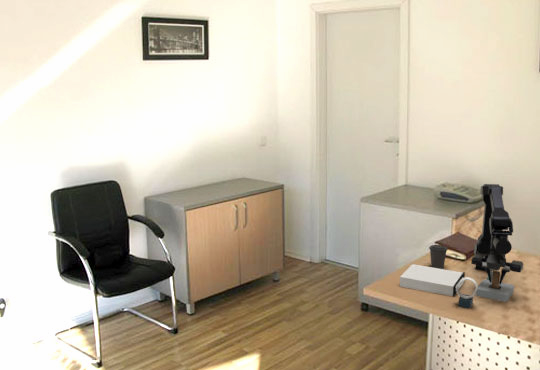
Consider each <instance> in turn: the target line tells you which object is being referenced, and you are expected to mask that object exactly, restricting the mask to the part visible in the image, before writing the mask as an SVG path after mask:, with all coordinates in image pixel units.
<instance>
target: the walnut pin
mask: <svg viewBox="0 0 540 370" xmlns="http://www.w3.org/2000/svg"><path fill="white" fill-rule="evenodd" d="M492 272H493V273H492V286H491V288H493V289H498V290H499V282H500V277H501V271H499V270H492Z"/></svg>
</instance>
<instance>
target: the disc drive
mask: <svg viewBox="0 0 540 370" xmlns="http://www.w3.org/2000/svg"><path fill="white" fill-rule="evenodd" d="M465 275H466V272H465V271H463V272H462V271H461V272H460V271H454V270H450V269H444V268H443V269H438V268H432V267H431V266H426V265H425V266H424V265H419V264H415V263H414V264H413V263H412V264H411V265H410V266H409V267H408V268H407V269H406V270H405V271H404V272H403V273H402V274H401V275H400V276H399V287H401V288H407V289H411V290H418V291H422V292H427V293H433V294H439V295H443V294H444V295H443V296H450V297H453V298H454V297H456V295H457V294H456V293H457V292H456V288H455V287H456V285H457V284H458V282H459V281H460V280H461V279H462V278H465V277H466V276H465ZM461 287H462V286H461ZM461 287H460V288H459V290H460V289H461Z"/></svg>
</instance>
